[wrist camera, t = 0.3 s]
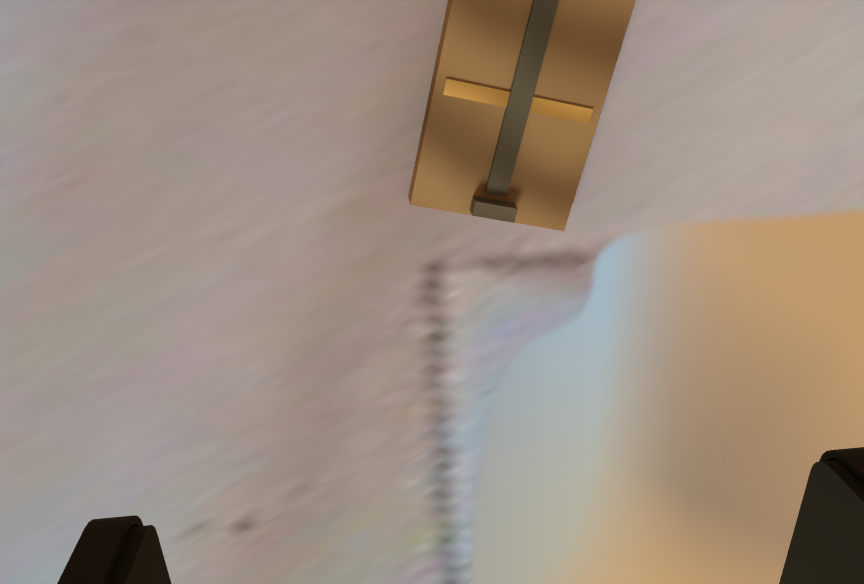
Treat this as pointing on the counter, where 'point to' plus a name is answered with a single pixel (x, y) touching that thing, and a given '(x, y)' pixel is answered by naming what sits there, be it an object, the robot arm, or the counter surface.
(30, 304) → the counter surface
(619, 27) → the fader board
